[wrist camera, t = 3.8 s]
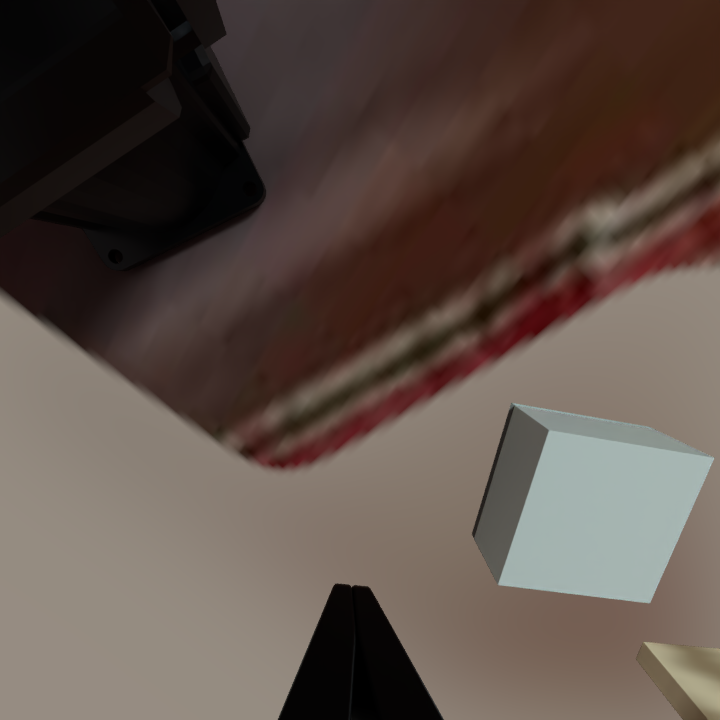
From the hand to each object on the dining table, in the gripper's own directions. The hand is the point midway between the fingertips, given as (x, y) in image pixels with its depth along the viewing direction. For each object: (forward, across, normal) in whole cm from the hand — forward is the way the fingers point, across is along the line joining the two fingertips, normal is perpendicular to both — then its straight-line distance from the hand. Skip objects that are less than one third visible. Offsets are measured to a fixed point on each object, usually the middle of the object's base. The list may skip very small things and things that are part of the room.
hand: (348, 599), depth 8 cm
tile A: (+8, -11, +1) cm, 13 cm away
